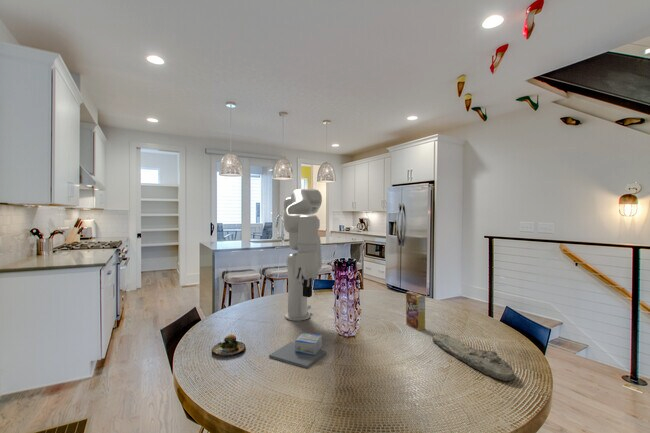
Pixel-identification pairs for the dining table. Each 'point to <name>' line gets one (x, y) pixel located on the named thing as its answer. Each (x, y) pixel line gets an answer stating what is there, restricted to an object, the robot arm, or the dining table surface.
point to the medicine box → (308, 343)
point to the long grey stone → (476, 357)
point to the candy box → (415, 310)
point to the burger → (229, 346)
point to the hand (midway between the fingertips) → (307, 296)
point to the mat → (296, 356)
